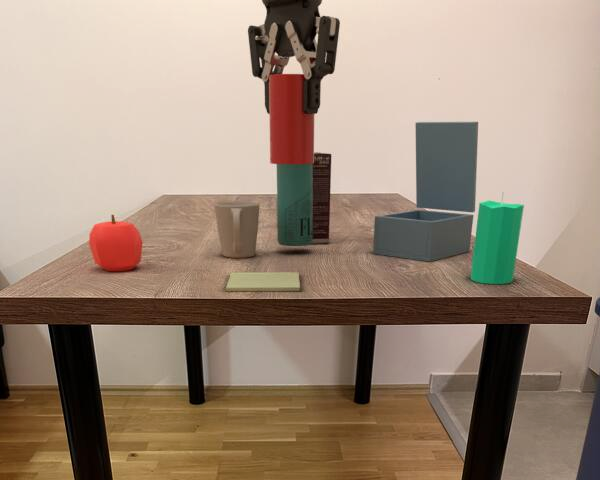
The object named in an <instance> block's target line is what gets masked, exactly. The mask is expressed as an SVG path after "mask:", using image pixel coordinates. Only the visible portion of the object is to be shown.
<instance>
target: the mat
mask: <svg viewBox="0 0 600 480" xmlns="http://www.w3.org/2000/svg"><path fill="white" fill-rule="evenodd" d="M225 291H226V292H300V291H301V282H300V275H299V272H298V271H297V272H292V271H291V272H290V271H288V272H278V271H277V272H275V271H274V272H270V271H269V272H266V271H265V272H261V271H260V272H259V271H258V272H253V271H252V272H231V273H230V276H229V277H228V281H227V283H226V287H225Z"/></svg>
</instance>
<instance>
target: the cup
mask: <svg viewBox="0 0 600 480" xmlns="http://www.w3.org/2000/svg"><path fill="white" fill-rule="evenodd" d="M213 206H214V207H213V208H214V213H215V220H216V228H217V234H218V239H219V244H220V249H221V255H222V256H224V257H226V258H231V259H245V258H246V259H247V258H252V257H254V256H255V254H256V249H257V242H258V231H259V218H260V217H259V216H260V206H261V205H260V203H259V202H257V201H249V200H248V201H247V200H229V201H218V202H214V204H213Z"/></svg>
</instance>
